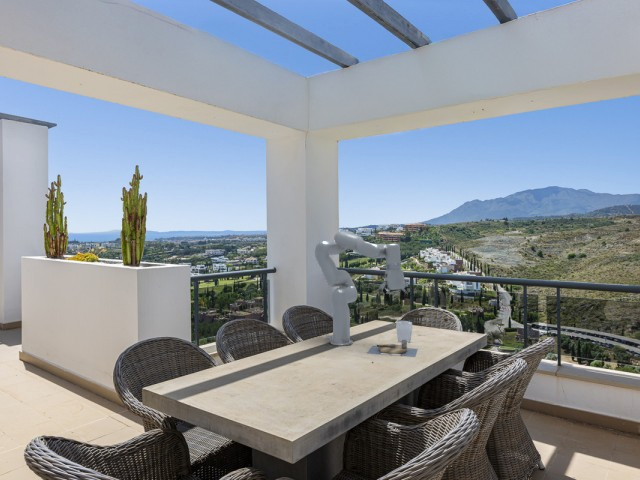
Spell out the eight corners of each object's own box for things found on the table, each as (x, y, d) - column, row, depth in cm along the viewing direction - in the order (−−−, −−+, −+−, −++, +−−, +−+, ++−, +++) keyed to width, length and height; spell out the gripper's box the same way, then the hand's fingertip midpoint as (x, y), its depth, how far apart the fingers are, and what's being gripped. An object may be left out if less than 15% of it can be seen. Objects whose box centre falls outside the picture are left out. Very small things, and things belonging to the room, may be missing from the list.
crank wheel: (374, 352, 216) (374, 341, 216) (379, 346, 229) (379, 335, 229) (405, 354, 211) (405, 343, 211) (408, 348, 225) (408, 337, 225)
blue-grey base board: (366, 356, 215) (366, 352, 215) (372, 348, 232) (372, 345, 232) (415, 360, 208) (415, 356, 208) (418, 351, 224) (418, 348, 224)
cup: (408, 346, 237) (407, 324, 237) (393, 343, 242) (393, 322, 242) (415, 343, 244) (415, 321, 244) (400, 341, 249) (400, 320, 249)
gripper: (384, 268, 216) (385, 302, 215) (411, 266, 224) (413, 299, 223) (375, 268, 223) (377, 301, 222) (402, 266, 230) (404, 298, 230)
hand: (395, 300), depth 222 cm, fingers open, 9 cm apart
